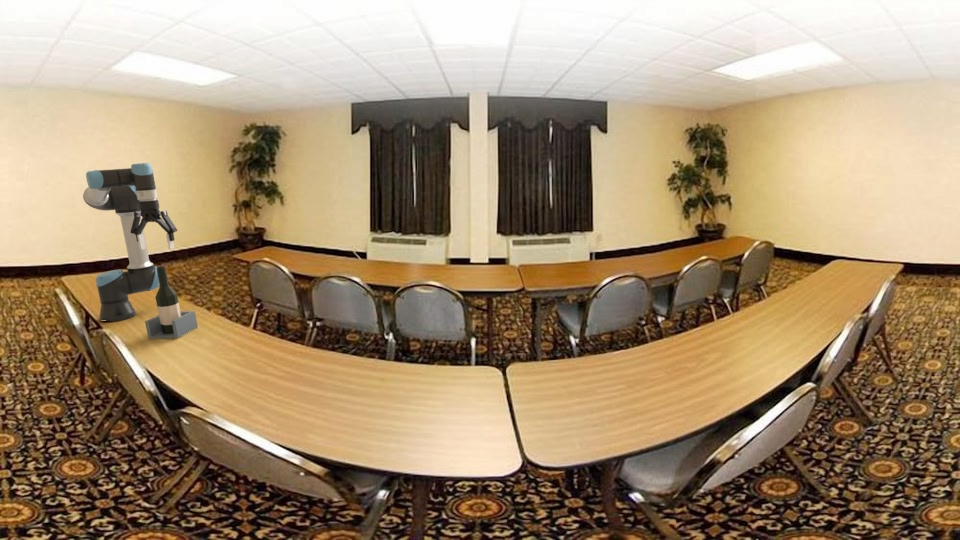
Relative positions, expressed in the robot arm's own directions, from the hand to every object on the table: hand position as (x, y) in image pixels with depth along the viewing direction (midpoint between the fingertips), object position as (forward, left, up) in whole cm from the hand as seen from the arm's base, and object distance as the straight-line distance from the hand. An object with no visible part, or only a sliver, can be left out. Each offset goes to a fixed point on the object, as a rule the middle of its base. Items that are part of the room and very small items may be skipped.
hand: (157, 248), depth 239 cm
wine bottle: (+2, -2, -37) cm, 37 cm away
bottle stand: (+2, -2, -38) cm, 38 cm away
